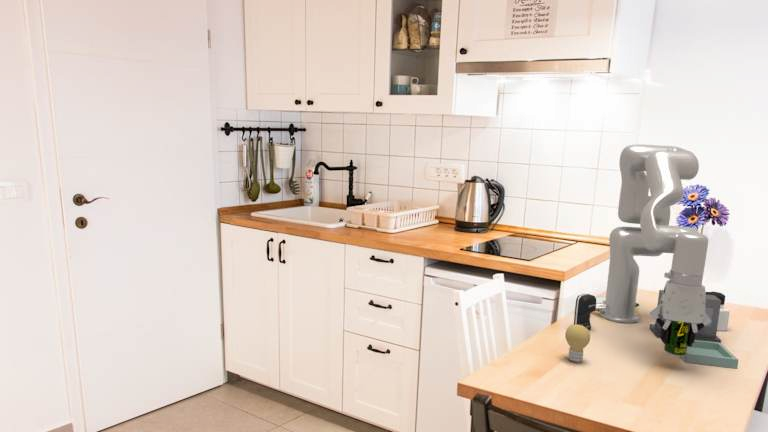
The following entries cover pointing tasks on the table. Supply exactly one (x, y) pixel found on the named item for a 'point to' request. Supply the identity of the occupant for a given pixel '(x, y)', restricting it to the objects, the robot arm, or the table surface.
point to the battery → (584, 310)
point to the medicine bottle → (721, 311)
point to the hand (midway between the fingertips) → (676, 342)
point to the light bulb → (577, 341)
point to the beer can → (677, 339)
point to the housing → (707, 331)
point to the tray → (710, 354)
